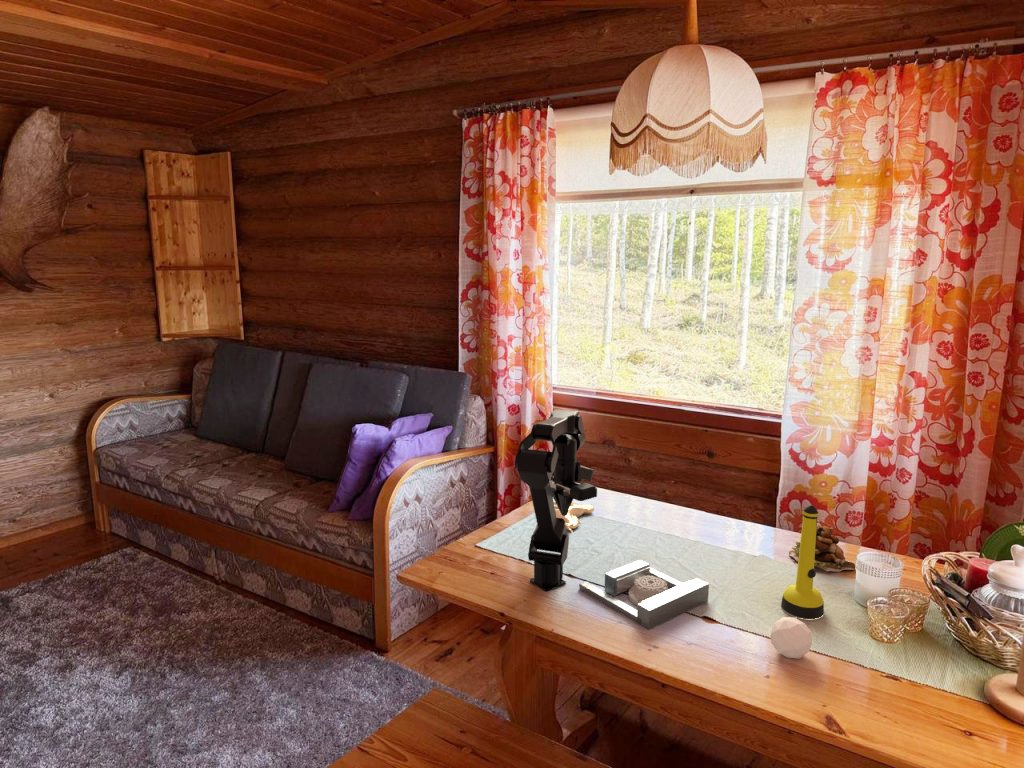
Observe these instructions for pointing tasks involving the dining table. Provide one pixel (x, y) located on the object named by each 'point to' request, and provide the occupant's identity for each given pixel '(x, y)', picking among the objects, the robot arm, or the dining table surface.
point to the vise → (656, 600)
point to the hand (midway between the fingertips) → (564, 515)
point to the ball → (791, 637)
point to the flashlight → (805, 574)
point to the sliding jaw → (625, 577)
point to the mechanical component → (646, 588)
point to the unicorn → (573, 514)
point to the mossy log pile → (826, 551)
